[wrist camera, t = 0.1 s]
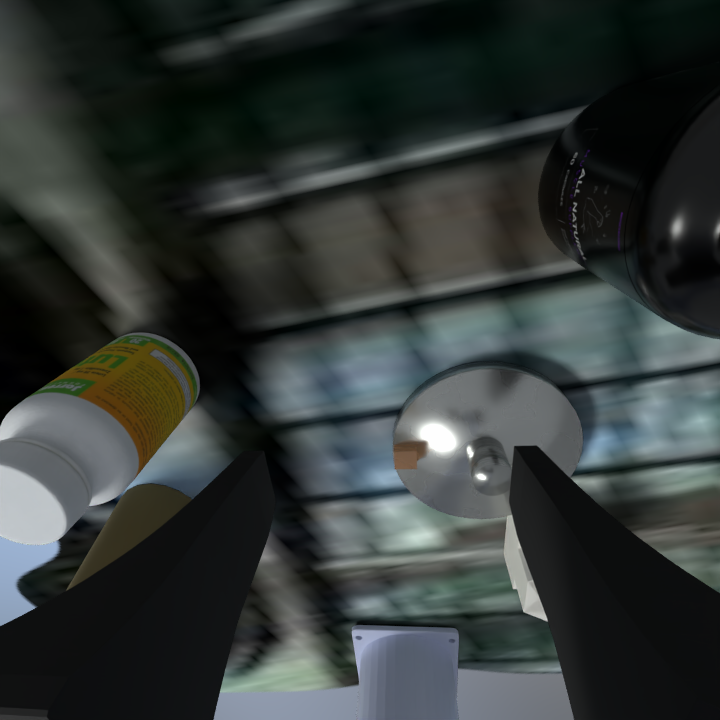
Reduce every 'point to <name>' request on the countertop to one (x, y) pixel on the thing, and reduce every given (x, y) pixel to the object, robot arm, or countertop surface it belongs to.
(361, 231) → the countertop surface
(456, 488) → the knobbed pot lid
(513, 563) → the white faceted lump
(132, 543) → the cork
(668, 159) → the supplement bottle
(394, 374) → the countertop surface
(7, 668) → the robot arm
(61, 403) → the supplement bottle
